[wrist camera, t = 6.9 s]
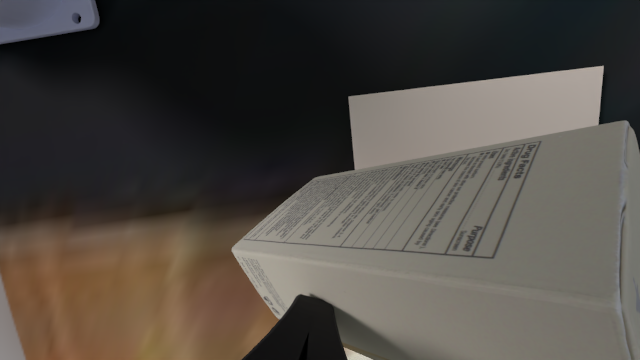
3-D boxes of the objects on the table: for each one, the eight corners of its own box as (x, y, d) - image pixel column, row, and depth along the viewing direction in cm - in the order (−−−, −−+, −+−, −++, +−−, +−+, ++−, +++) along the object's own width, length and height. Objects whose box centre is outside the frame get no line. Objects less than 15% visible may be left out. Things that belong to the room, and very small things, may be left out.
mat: (369, 329, 19) (369, 336, 18) (348, 96, 16) (348, 96, 15) (572, 324, 18) (579, 332, 17) (593, 67, 14) (603, 65, 14)
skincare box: (276, 321, 14) (677, 523, 5) (225, 247, 13) (624, 326, 4) (354, 234, 18) (668, 254, 9) (320, 171, 17) (641, 112, 7)
